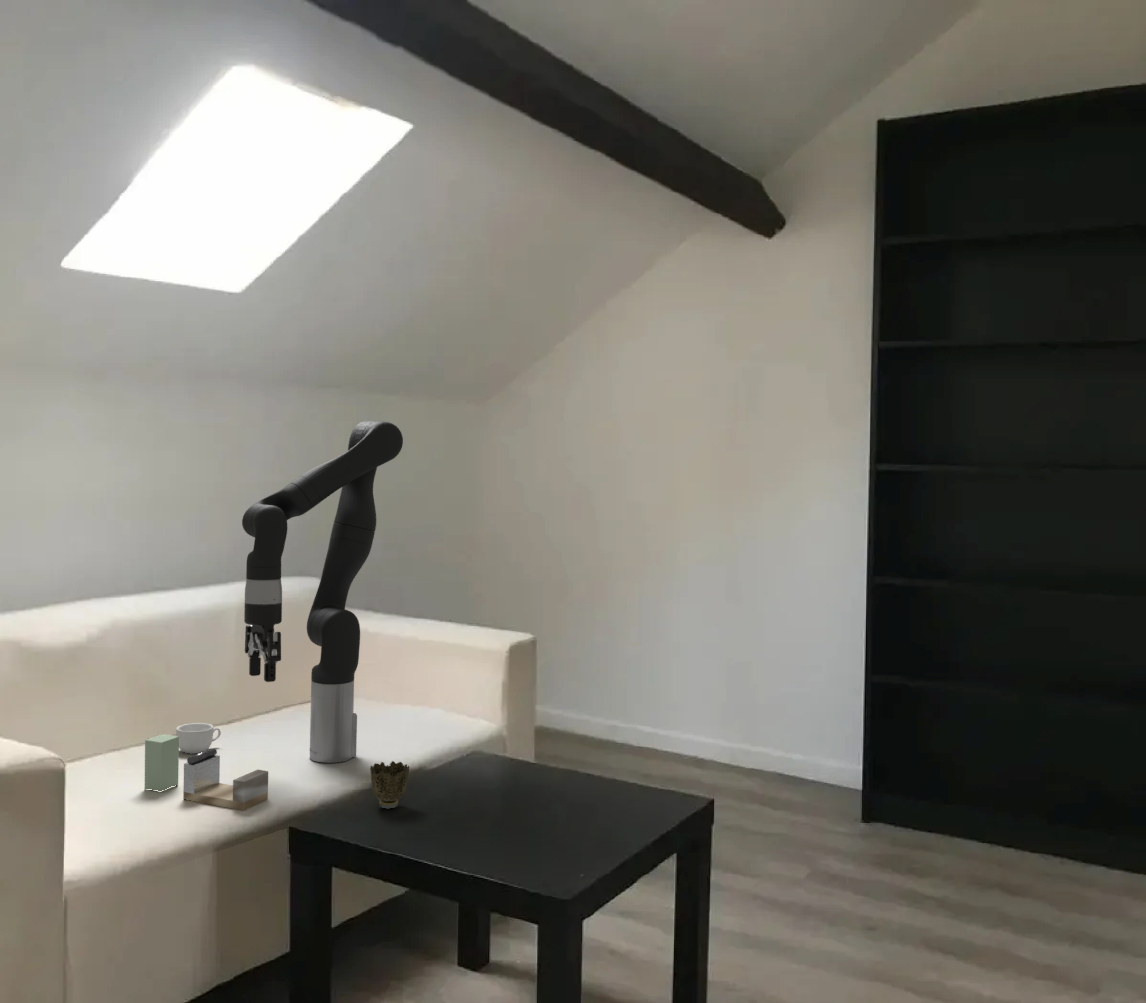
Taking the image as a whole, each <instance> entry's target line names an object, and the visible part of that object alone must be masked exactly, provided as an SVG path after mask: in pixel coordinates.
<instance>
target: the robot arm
mask: <svg viewBox="0 0 1146 1003" xmlns="http://www.w3.org/2000/svg"><path fill="white" fill-rule="evenodd" d="M403 443H404V438H403V434H402V431H401V430H400V429H399V427H398V426H397V425H396V424H394V423H392V422H389V421H385V420H363V421H361V422H359V423H358V424H357V425H355V427H353V429H352V431H351V434H350V437H349V441H348V446H347V451H345V452H344V453H341V454H340V455H338V456H336V457H334V458H333V459H330V460H327V461H326V462H324V463H321V464H319V465H317V466H315V467H313V468H311V469H309V470H307V471H305V472H304V473H302V474H301V475H300V476H298V477H297V478H296V479H294V480H292V481H291V482H290V483H288V484H287V485H286V486H284V487H282V489H279V490H278V491H276V492H273V493H272V494H269V495H268V496H266V497H264V498H262V499H260V500H259V501H257V502H255V503H254V504H252V505H251V506H250V507H249V508H247V509H246V510H245V512H244V514H243V516H242V519H241V525H242V528H243V530H244V531H245V533H246V534H247V535H248V536H250V537H253V538H254V542H253V543H254V544H253V549H252V551H250V552H249V553H248V555H247V557H246V569H245V571H246V574H245V576H246V579H245V587H244V612H243V614H244V615H243V616H244V623H245V624H246V626H245V632H244V634H245V635H244V636H245V639H244V653H245V654H247V656H248V658H249V660H248V663H249V664H248V665H249V666H248V674H249V676H252V677H257V676H260V675H261V668H262V665H261V663H262V662H261V660H262V658H261V656H262V657H263V663H264V664H263V666H264V667H263V670H264V671H263V680H264V682H266V683H273V682H276V677H277V676H276V675H277V674H276V672H277V671H276V670H277V664H278V662H282V661H281V660H282V632H281V631H275V628H274V627H275V625H279V624H281V623H282V622H283V621H282V620H283V585H282V557H283V553H284V550H285V545H286V539H287V536H288V520H290V519H292V518H295V517H301V516H302V515H305V514H306V513H307V512H309V511H311V510H312V509H314V508H315V507H316V506H318V505H319V504H320V503H322V501H324V500H326V499H327V498H328V497H330V496H331V495H333V494H334V493H336V492H337V491H338V490H339V489H341V490H340V496H339V499H338V500H339V501H338V504H337V508H336V514H335V517H334V520H333V524H332V529H331V532H330V537H329V543H328V549H327V553H326V557H325V559H324V560H325V561H324V565H323V568H322V572H321V578H320V582H319V585H318V587H317V591H316V593H315V596H314V599H313V602H312V604H311V608H310V611H309V614H308V618H307V622H306V633H307V636H308V638H309V640H310V641H311V642H312V644H314V645H316V646H318V647H320V649H321V650H320V658H319V659H320V660H319V663H318V664H316V665H314V666H313V667H312V668H311V675H310V676H311V677H310V678H311V679H310V680H311V683H310V685H311V686H310V722H309V723H310V724H309V725H310V728H309V729H310V730H309V759H310V760H312V761H314V762H318V763H324V764H325V763H327V764H328V763H329V764H331V763H334V764H335V763H341V762H346V761H349V760H351V759H352V758H356V757H357V737H358V714H357V713H355V712H354V705H355V704H354V700H355V694H354V693H355V674H356V671H357V668H358V665H359V661H360V646H361V644H360V643H361V627H360V622H359V619H358V616H356V614H355V613H353V612H352V611H351V610H349V609H346V604H347V599H348V595H349V591H350V588H351V585H352V584H353V581H354V579H355V578H356V576H357V574H358V573H359V572H360V570H361V569H362V567H363V566H364V564H365V563H366V561H367V559H368V557H369V555H370V554H371V550H372V547H373V543H374V542H373V541H374V539H375V538H374V537H375V532H376V528H377V511H376V503H375V498H374V483H375V482H374V481H375V477H376V472H377V470H378V467H380V466H382V465H384V464H386V463H388V462H390V461H392V460H394V459H396V457H397V456H398V455H399V454H400V452H401V450H402V449H403V445H404V444H403Z"/></svg>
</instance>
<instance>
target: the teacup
mask: <svg viewBox="0 0 1146 1003" xmlns="http://www.w3.org/2000/svg"><path fill="white" fill-rule="evenodd" d="M215 731H217V732H218V734H217V735H216V736H215V737H214V733H215ZM175 732H176V734H175V736H178V737H179V751H181V752H183V753H184V752H185V753H184V754H187V753H190V754H189V755H193V754H192V753H201V752H204V751H207V750H209V749H210V747H211V746H212V743H213V742H214V741H216V740H218V739H219V738H220V737H221V734H222V732H221V730H220V728H218V727H214V725H213V724H210V723H206V722H205V723H204V722H192V723H186V724H182V725H181V724H180V725H178V726H177V727H176V729H175Z"/></svg>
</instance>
